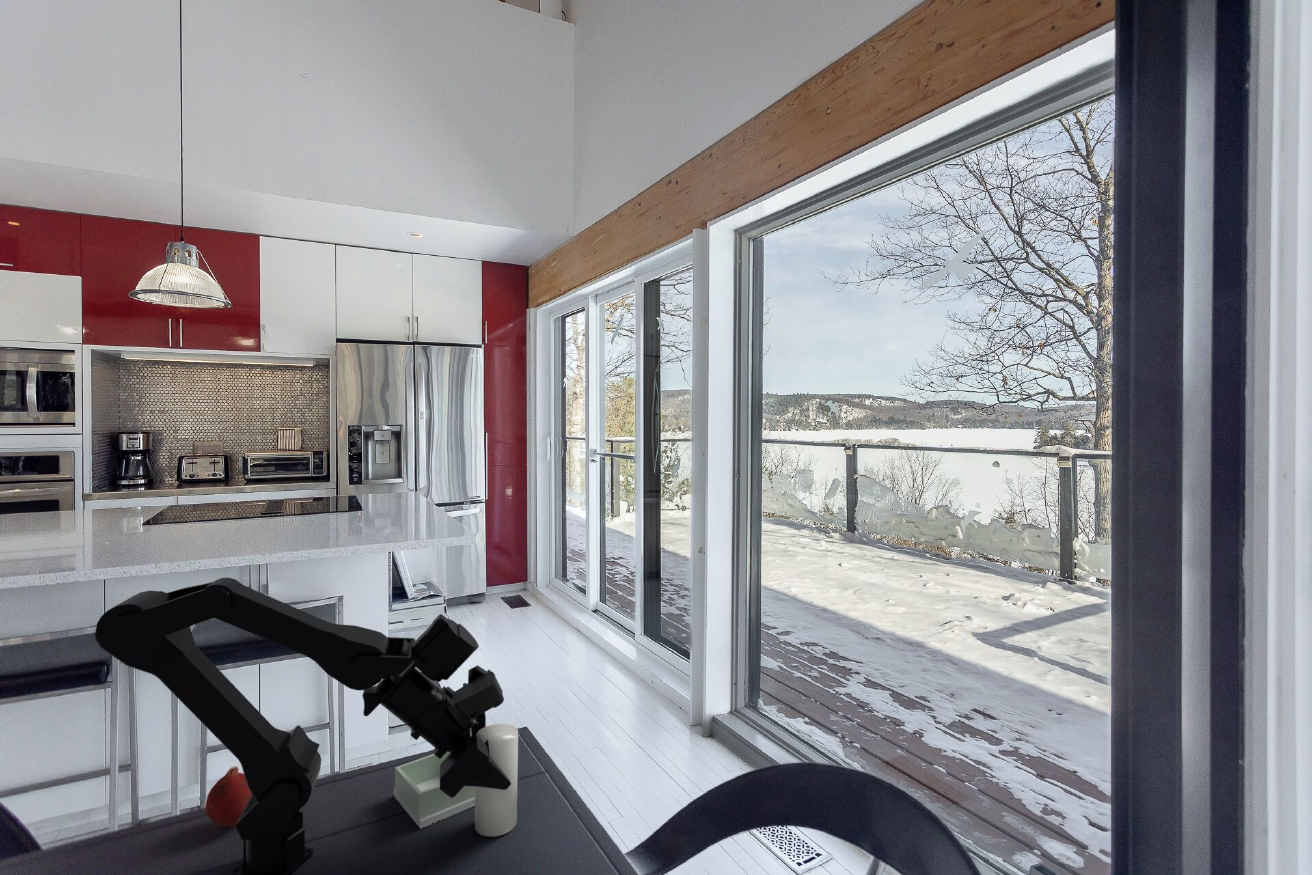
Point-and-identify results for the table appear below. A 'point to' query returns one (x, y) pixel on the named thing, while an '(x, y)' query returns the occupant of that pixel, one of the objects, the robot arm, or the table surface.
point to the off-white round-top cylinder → (496, 804)
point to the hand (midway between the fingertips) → (506, 774)
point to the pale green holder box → (428, 791)
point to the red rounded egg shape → (228, 798)
